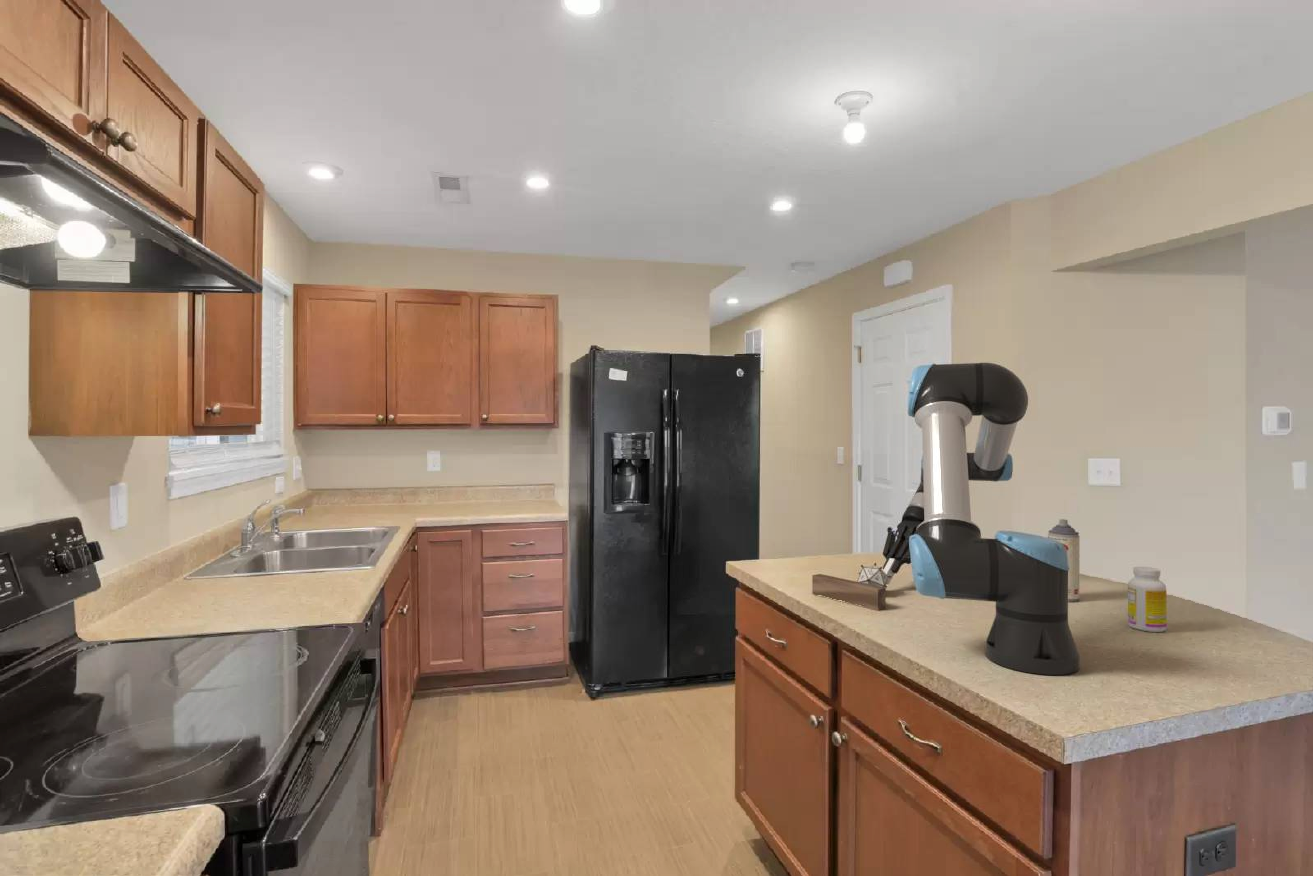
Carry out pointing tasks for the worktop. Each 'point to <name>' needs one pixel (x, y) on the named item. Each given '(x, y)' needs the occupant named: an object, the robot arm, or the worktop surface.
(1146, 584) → the supplement bottle
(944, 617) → the worktop surface
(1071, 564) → the aerosol can
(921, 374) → the robot arm
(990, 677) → the worktop surface
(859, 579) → the game die
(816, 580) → the rail
